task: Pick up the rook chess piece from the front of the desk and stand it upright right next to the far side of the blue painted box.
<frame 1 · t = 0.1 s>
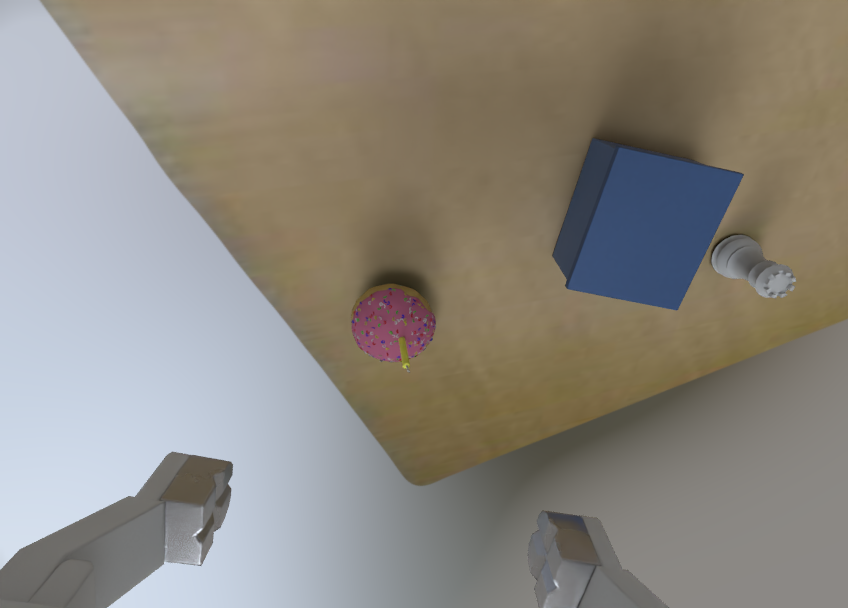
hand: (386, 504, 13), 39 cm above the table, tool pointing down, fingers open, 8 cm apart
blue box: (619, 210, 48), on the table
rook chess piece: (730, 253, 50), on the table
cupcake: (395, 304, 54), on the table
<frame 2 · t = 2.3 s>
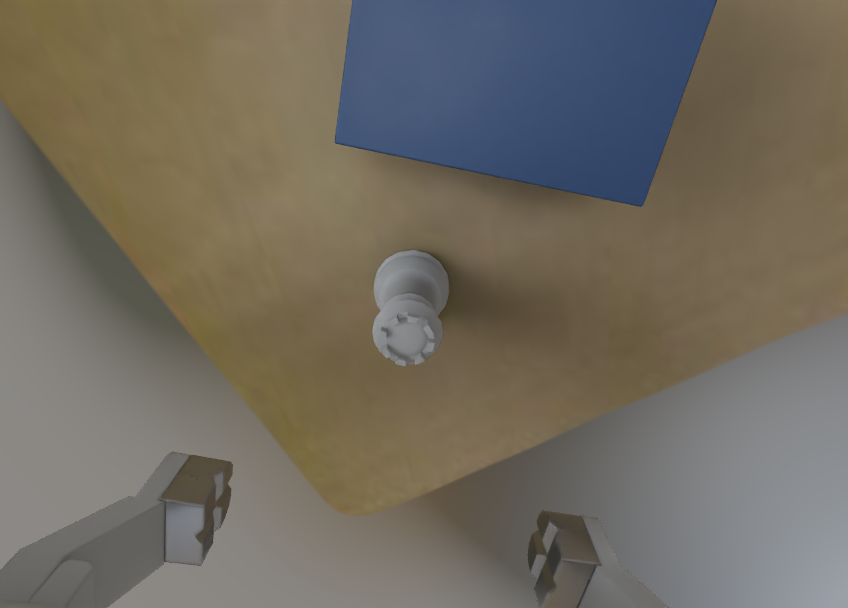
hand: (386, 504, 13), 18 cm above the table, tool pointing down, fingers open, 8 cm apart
blue box: (498, 53, 25), on the table
rook chess piece: (412, 282, 29), on the table
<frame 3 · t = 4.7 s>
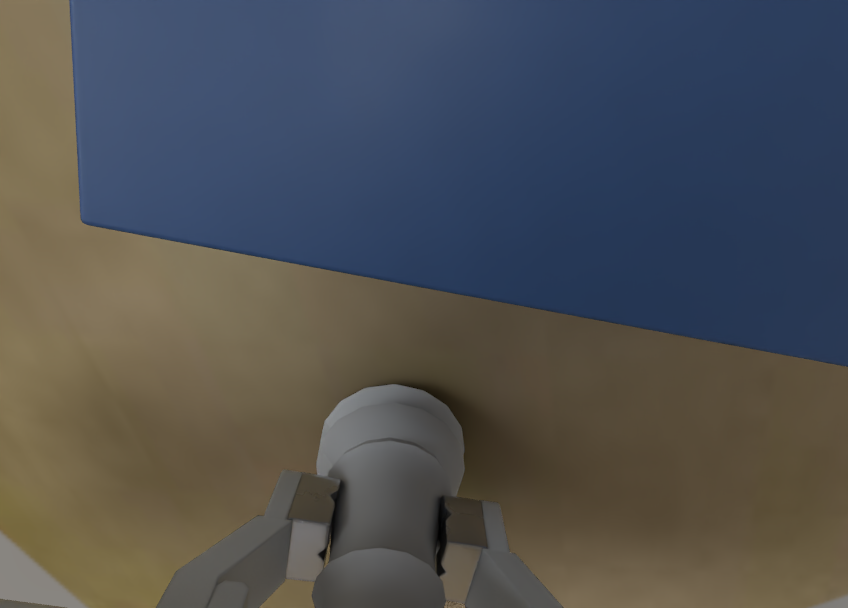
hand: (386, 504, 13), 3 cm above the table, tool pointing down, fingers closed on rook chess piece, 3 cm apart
rook chess piece: (393, 434, 16), on the table, touching gripper
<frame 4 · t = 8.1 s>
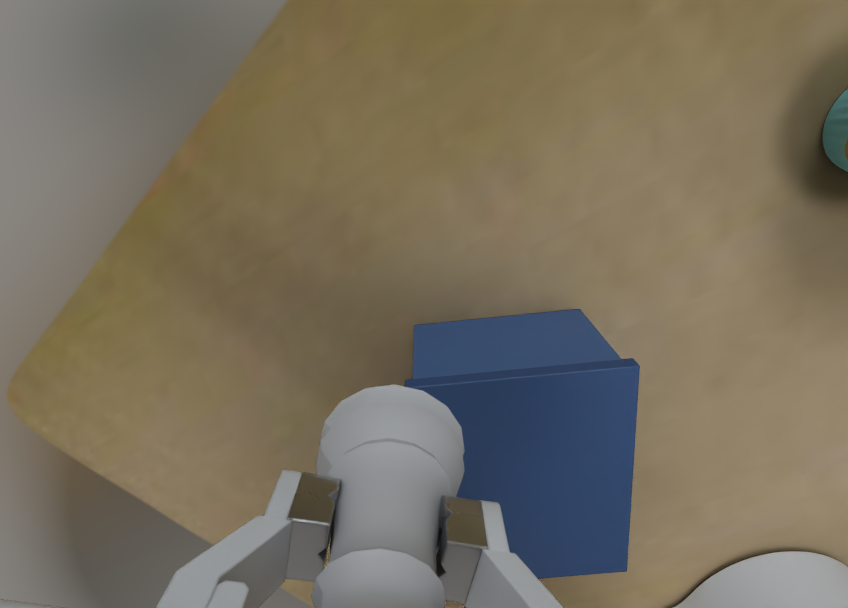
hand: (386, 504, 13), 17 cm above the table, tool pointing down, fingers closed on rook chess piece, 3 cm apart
blue box: (501, 402, 31), on the table
rook chess piece: (393, 434, 16), point 14 cm above the table, touching gripper
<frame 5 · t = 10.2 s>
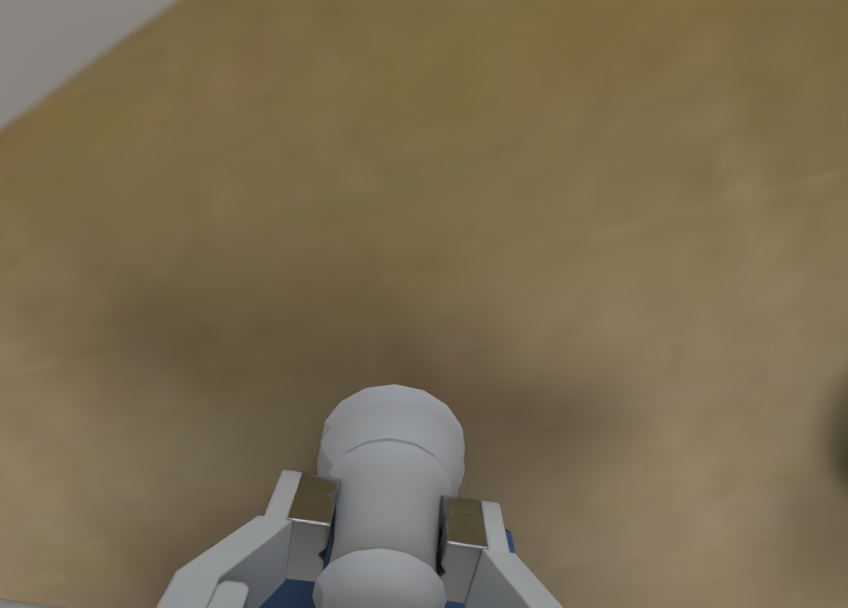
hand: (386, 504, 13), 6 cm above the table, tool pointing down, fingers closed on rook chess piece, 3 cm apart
rook chess piece: (394, 434, 16), point 3 cm above the table, touching gripper
when the fingers open (3 cm above the table, at t = 11.8 s): rook chess piece stays where it is, on the table.
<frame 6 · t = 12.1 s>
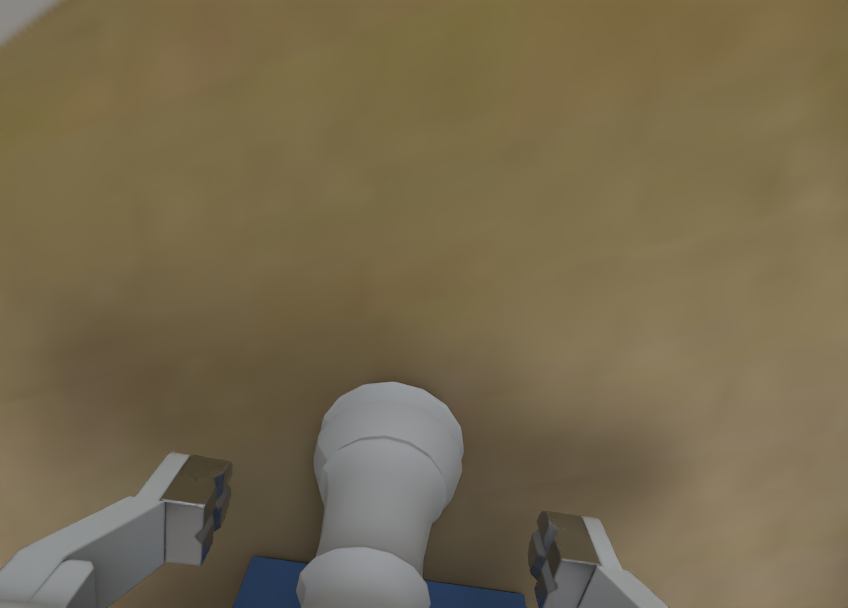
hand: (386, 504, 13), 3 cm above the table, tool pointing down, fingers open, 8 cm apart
rook chess piece: (393, 431, 15), on the table
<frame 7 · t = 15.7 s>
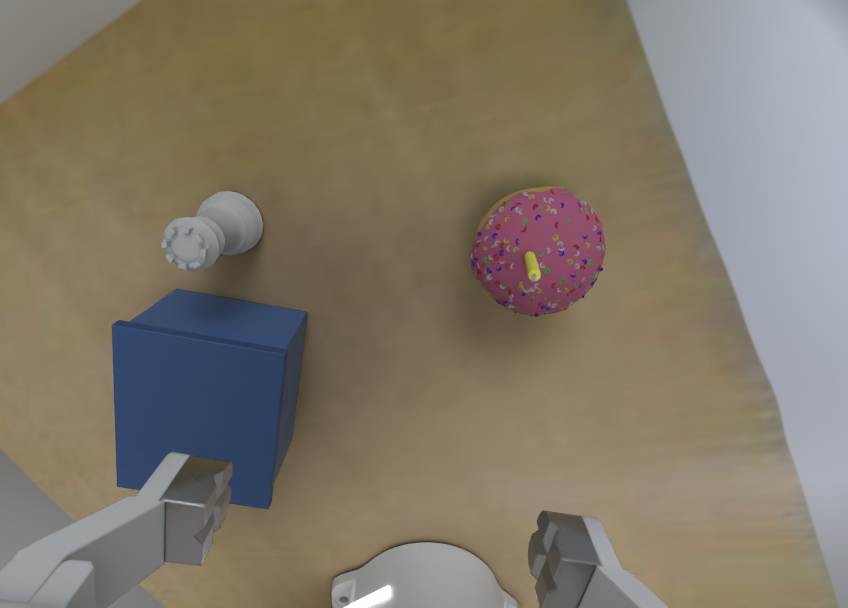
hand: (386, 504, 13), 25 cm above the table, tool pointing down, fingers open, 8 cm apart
blue box: (238, 368, 39), on the table
rook chess piece: (235, 220, 35), on the table
cupcake: (524, 236, 36), on the table
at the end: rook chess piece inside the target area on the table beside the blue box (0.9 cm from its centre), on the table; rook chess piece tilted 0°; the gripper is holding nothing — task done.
